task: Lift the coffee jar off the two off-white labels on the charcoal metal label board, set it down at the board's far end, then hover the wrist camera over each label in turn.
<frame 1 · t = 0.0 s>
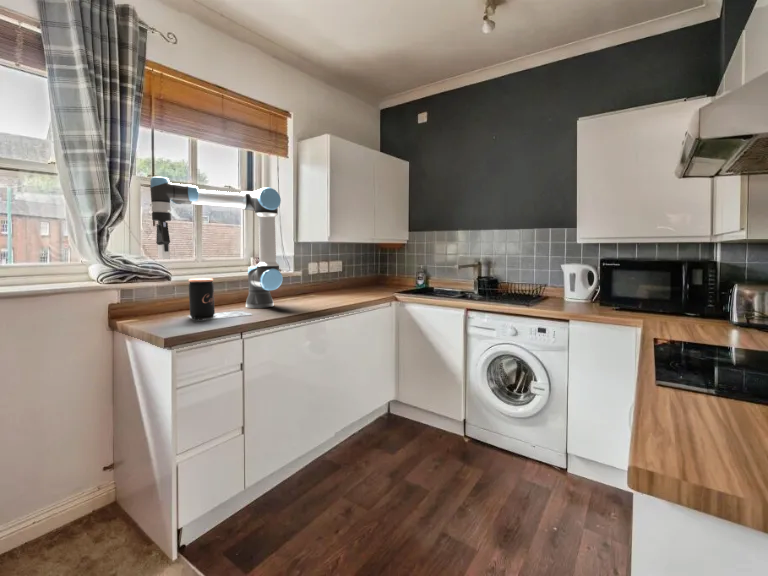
hand: (163, 259, 179), 28 cm above the worktop, fingers open, 13 cm apart
coffee jar: (202, 317, 186), resting on label board
label board: (220, 315, 191), on the worktop
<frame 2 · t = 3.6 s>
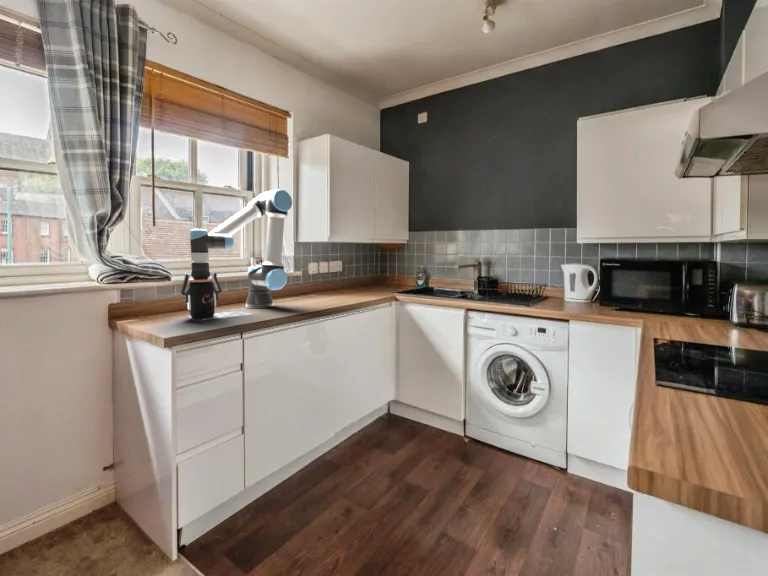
hand: (202, 308, 185), 4 cm above the worktop, fingers closed on coffee jar, 11 cm apart
coffee jar: (202, 317, 186), resting on label board, touching gripper
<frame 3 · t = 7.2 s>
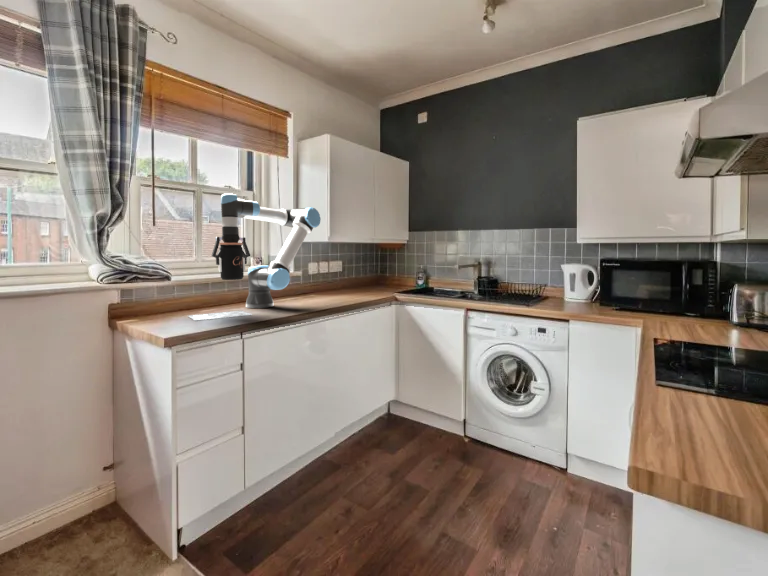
hand: (232, 271, 193), 22 cm above the worktop, fingers closed on coffee jar, 11 cm apart
coffee jar: (232, 279, 193), point 17 cm above the worktop, touching gripper
when the fingers open (6 cm above the worktop, at t = 10.7 s): coffee jar drops 2 cm, resting on label board.
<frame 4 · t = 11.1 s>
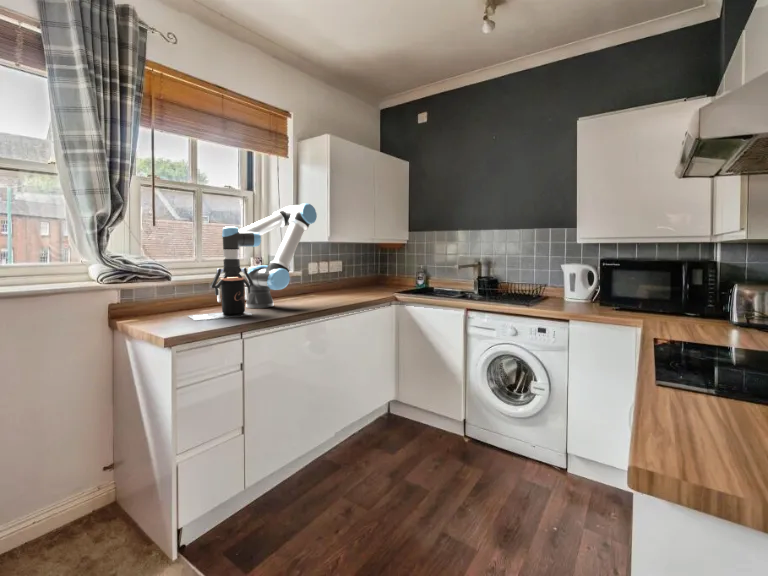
hand: (233, 301, 194), 7 cm above the worktop, fingers open, 13 cm apart
coffee jar: (233, 314, 195), resting on label board
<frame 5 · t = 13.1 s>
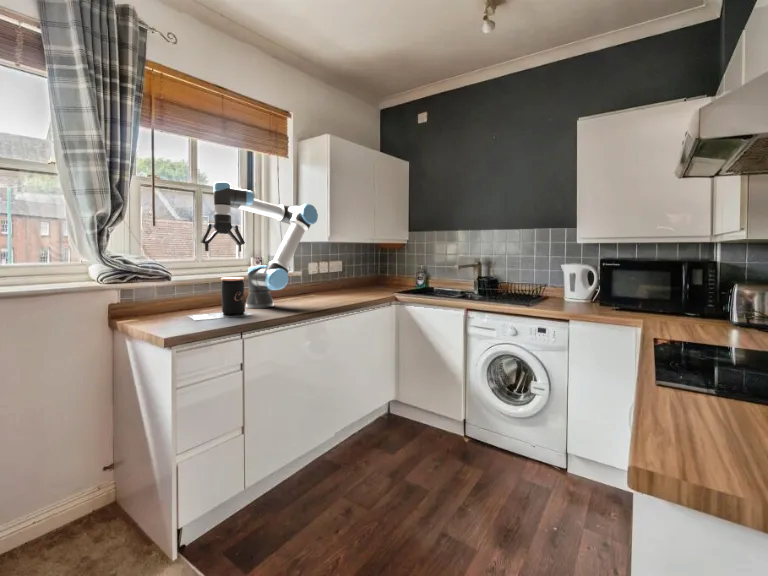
hand: (223, 258, 190), 28 cm above the worktop, fingers open, 13 cm apart
nothing on the worktop moved.
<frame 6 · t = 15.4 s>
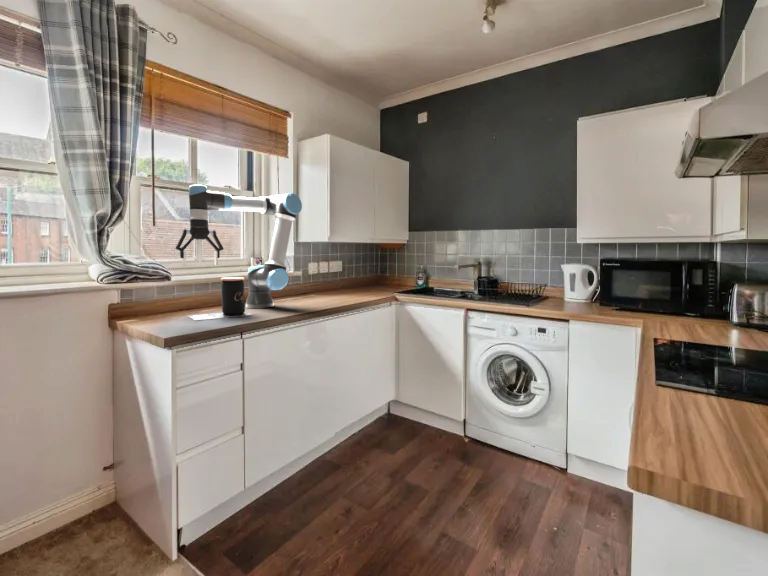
hand: (200, 265, 182), 25 cm above the worktop, fingers open, 13 cm apart
nothing on the worktop moved.
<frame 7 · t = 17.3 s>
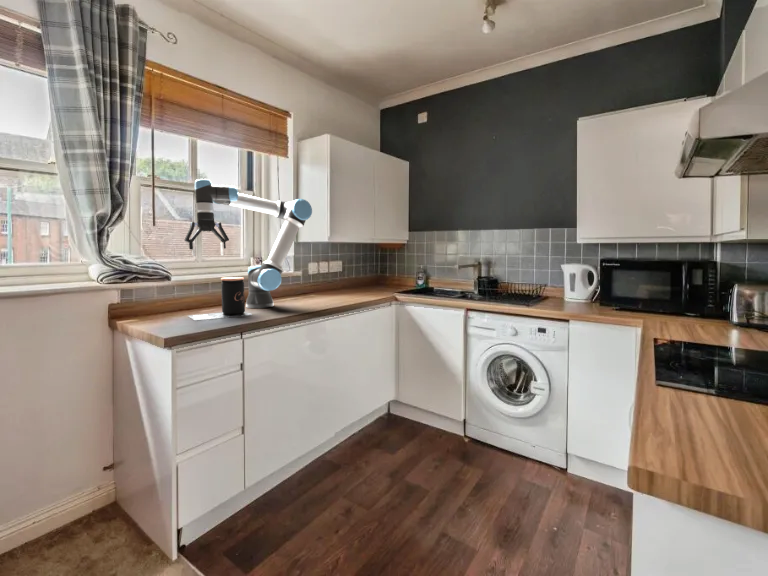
hand: (208, 255, 192), 29 cm above the worktop, fingers open, 13 cm apart
nothing on the worktop moved.
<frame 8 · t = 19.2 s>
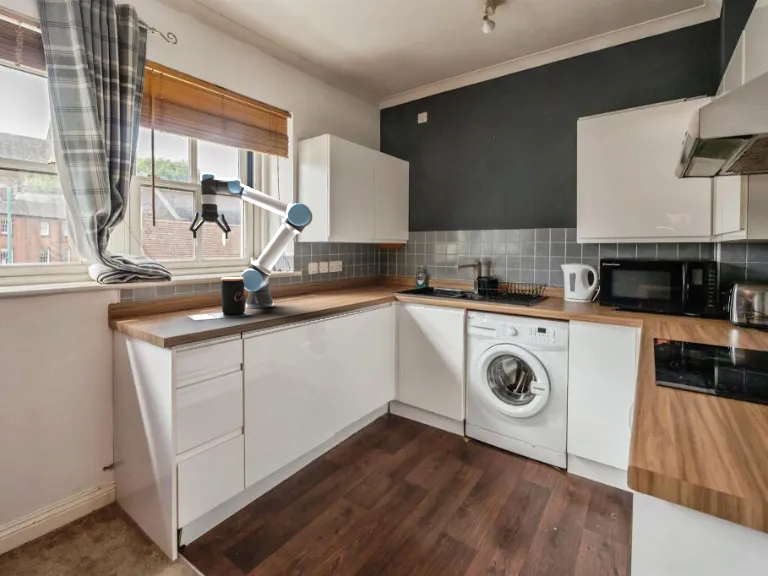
hand: (211, 245, 203), 35 cm above the worktop, fingers open, 13 cm apart
nothing on the worktop moved.
at the end: coffee jar inside the target area (0.6 cm from its centre), resting on label board; coffee jar tilted 0°; the gripper is holding nothing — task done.
